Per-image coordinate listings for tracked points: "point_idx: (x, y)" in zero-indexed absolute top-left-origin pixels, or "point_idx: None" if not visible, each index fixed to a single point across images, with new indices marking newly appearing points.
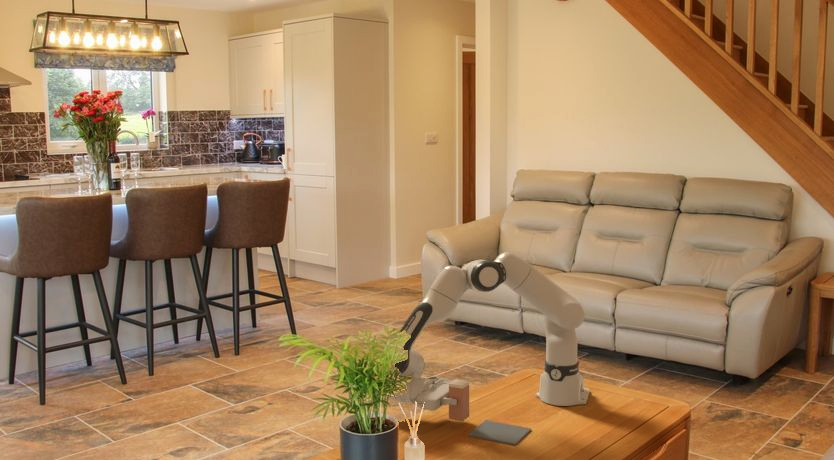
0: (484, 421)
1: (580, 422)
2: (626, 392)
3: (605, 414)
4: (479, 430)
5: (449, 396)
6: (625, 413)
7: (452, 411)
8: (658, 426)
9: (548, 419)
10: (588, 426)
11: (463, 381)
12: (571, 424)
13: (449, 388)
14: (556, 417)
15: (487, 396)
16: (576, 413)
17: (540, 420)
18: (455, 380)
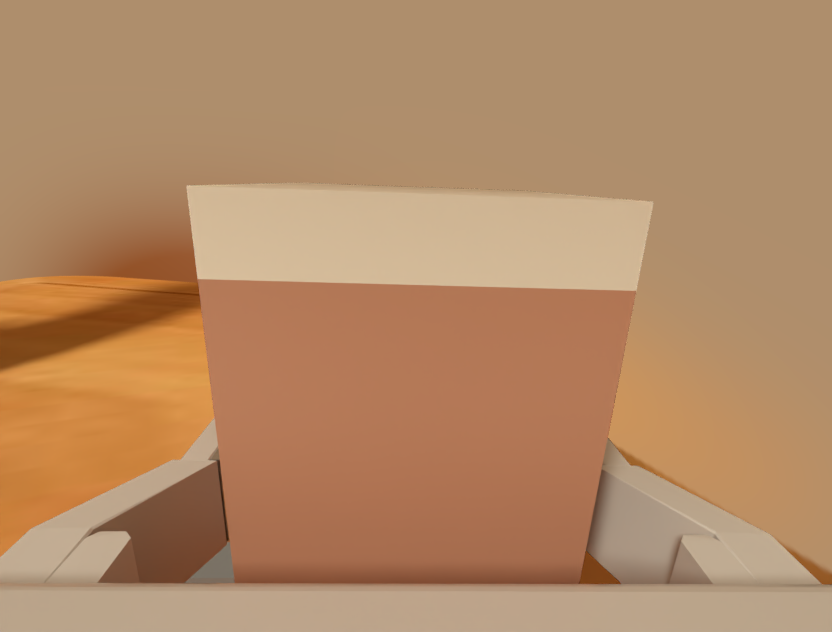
0: (213, 574)
1: (165, 339)
2: None
3: (87, 321)
4: None
5: (584, 511)
6: (85, 306)
7: None
8: (189, 284)
9: (126, 386)
10: (202, 329)
11: (339, 185)
12: (187, 347)
13: (618, 335)
14: (101, 376)
15: None
16: (59, 352)
17: (139, 400)
18: (327, 189)
